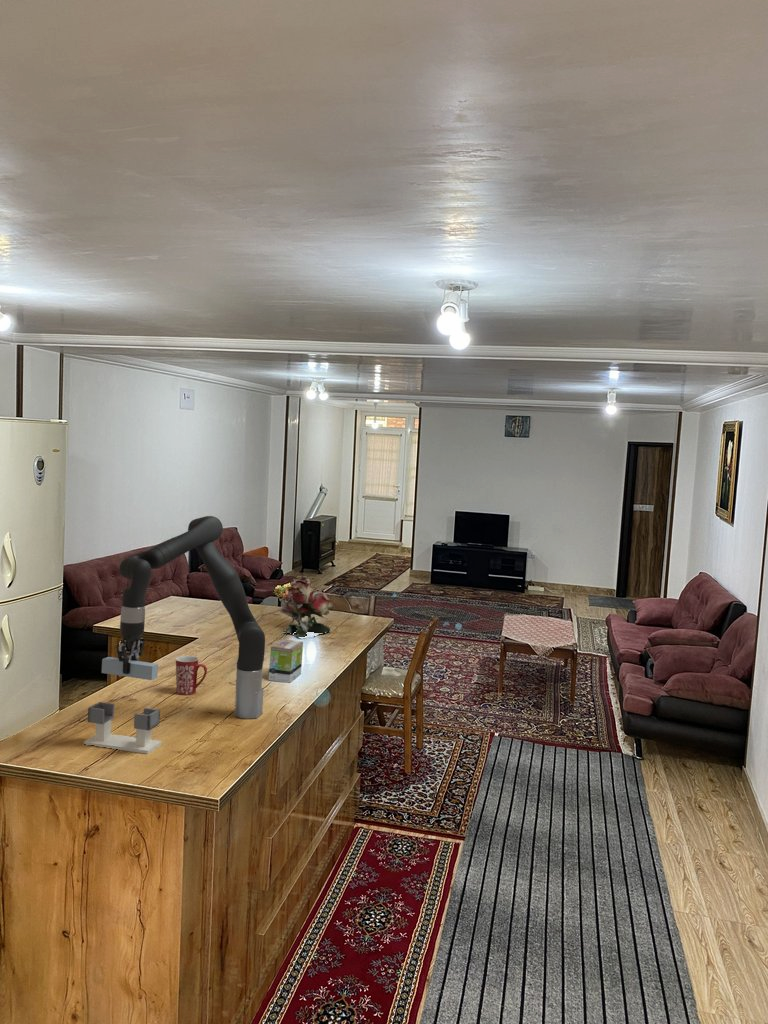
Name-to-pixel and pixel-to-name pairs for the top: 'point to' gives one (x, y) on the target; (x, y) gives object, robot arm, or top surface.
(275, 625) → the top surface
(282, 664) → the tea box
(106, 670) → the rail
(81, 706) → the top surface
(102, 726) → the stand
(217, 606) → the top surface
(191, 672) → the mug
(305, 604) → the rose bouquet
